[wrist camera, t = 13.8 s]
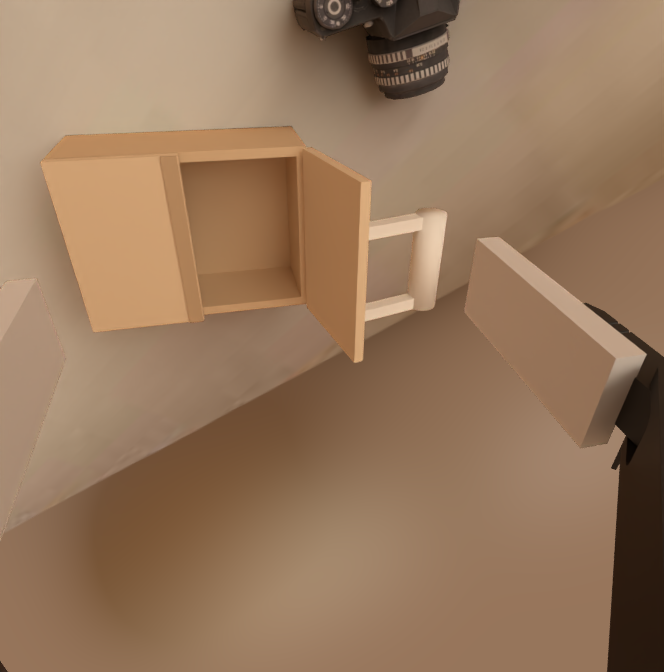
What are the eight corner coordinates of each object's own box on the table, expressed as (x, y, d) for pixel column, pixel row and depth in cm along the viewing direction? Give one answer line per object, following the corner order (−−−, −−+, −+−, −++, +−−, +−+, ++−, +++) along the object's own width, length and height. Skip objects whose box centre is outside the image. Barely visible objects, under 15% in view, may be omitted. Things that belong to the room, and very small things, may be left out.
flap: (362, 183, 33) (460, 168, 36) (302, 148, 41) (387, 138, 44) (355, 364, 41) (435, 340, 44) (306, 307, 49) (377, 290, 52)
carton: (65, 135, 44) (43, 158, 38) (291, 126, 48) (305, 145, 41) (107, 286, 52) (95, 326, 46) (296, 268, 56) (309, 303, 50)
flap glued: (42, 159, 38) (39, 163, 37) (177, 152, 39) (177, 156, 38) (94, 327, 46) (92, 333, 45) (204, 315, 48) (204, 321, 47)
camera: (322, 113, 48) (348, 137, 40) (283, -21, 41) (304, -25, 33) (462, 60, 48) (515, 72, 40) (444, -83, 41) (504, -102, 33)
